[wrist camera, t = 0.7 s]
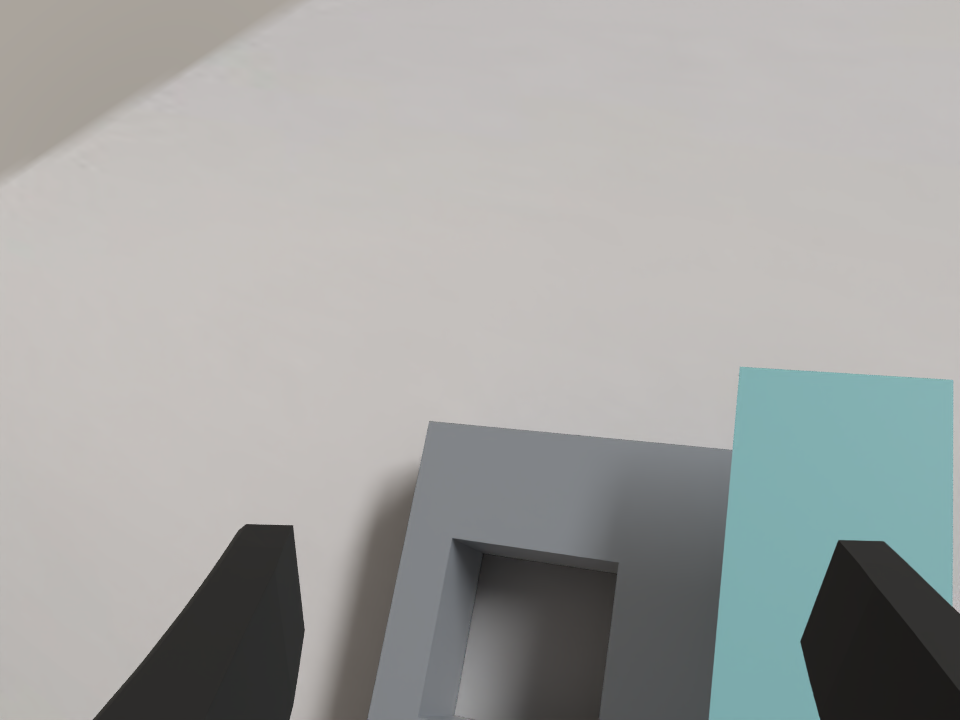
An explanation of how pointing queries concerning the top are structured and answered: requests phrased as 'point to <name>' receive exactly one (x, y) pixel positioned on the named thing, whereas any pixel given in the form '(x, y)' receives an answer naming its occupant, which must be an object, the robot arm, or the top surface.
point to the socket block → (562, 560)
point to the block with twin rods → (821, 515)
